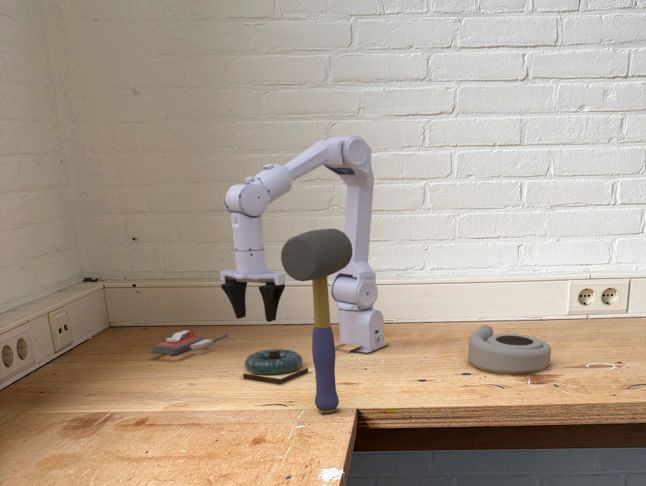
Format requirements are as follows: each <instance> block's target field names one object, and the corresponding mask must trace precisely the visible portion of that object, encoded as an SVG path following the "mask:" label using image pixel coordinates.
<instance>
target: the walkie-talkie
mask: <svg viewBox="0 0 646 486" xmlns="http://www.w3.org/2000/svg"><path fill="white" fill-rule="evenodd" d="M227 337H229V334H228V333H225V334H223V335H220V336H218V337H216V338H214V339H207V338H206V339H205V337H204V336H203V335H195V333H194V331H193V330H180V331H178V332H175V333H173V335H172V337H167V338H166V339H165V341H163V342H161V343H157V344H155V345H152V346H151V350H152V354H154V355H155V354H158V355H163V354H167V355H169V356H170V357H177V356H180V355H182V354H184V353H187V352H189V351H194V350H197V349H203V348H206V347H208V346H210V345H213V344H214V343H215V342H219V341H220V340H222V339H225V338H227Z"/></svg>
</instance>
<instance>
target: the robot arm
mask: <svg viewBox="0 0 646 486" xmlns="http://www.w3.org/2000/svg"><path fill="white" fill-rule="evenodd" d="M322 166H323V167H325V168H326V169H327V170H329V171H331V172H332V173H334V174H335V175H337V176H338V177H339V178H340V179H341V180H342V181H343V183H344V184H345V185H346V199H345V213H344V214H345V215H344V230H343V231H344V232H343V233H345V235H346V236H347V237H348V238H349V240H350V242H351V244H352V250H353V251H352V258H351V260H350V263H349V264H348V265H347V266H346V267H345V268H343V269H341V270H340V271H338V272H336V273H334V274H333V275H334V276H333V279H332V281H331V283H330V286H329V287H330V288H329V291H330V292H329V293H330V296H331V298H332V300H333V301H334V302H335V304H336V307H337V311H338V314H337V315H338V330H339V334H338V335H339V343H341V345H342V344H343V345H346V346H347V345H349V346H358V347H355V348H353V349H350V350H349V352H355V353H364V354H369V353H372V352H373V351H376V350H378V349H380V348H383V347H385V346H387V343H386V342H385V328H384V327H385V325H384V323H385V322H384V316H383V313H382V311H380V310H379V309H375V308H374V304H375V303H376V302H377V299H378V295H379V290H378V289H379V288H378V286H377V285H378V284H377V282H376V280H377V274H376V272H375V271H374V269H373V268H372V267H371V266H370V264H369V252H370V239H371V225H372V212H373V197H374V185H375V177H374V172H373V168H372V148H371V147H370V145H369V144H368V143H367V141H366V140H365V139H364V138H363V137H361V136H360V135H357V134H356V135H351V136H349V135H348V136H331V135H329V136H326V137H323V138H322V139H321V140H316V141H315V142H314V143H313V145H311V146H310V147H308V148H307V149H305V150H304V151H302V152H301V153H299V154H298V155H296V156H295V157H294V158H293V159H291V160H290V161H288V162H287V163H285V164H284V165H281V164H278V163H267V164H265V165H263V170H262V171H260V172H258V173H256V174H255V175H254V176H247V177H245V179H244V180H245V181H244V183H243V184H240V183H239V184H233V185H231V186H230V187H229V188H228V189H227V192H226V194H225V199H223V200H222V202H223V205H224V208H225V210H226V211H227V213H229V216H230V222H231V228H232V238H233V247H234V256H235V268H236V269H224V270H220V271H219V276H220V281H221V282H224V283H222V284H220V285H221V286H220V287H221V289H222V290H223V292H224V293H225V295H226V297H227V298H228V300H229V302H230V305H231V307H232V310H233V312H234V315H235V318H236V320H237V319H238V320H239V319H243V318H246V315H247V305H246V294H247V293H246V291H247V286H248V283H255V284H264V285H260V286H258V290H259V293H260V296H261V298H262V301H263V302H262V303H263V309H264V316H265V320H266V322H267V323H268V322H274V321H276V319H277V313H278V309H279V304H280V301H281V296H282V295H283V293H284V291H285V289H286V273H281V272H274V271H269V270H267V262H266V261H267V260H266V259H267V258H266V251H265V250H266V249H265V239H264V238H265V237H264V226H263V215H264V213H265V212H266V210H267V207H268V206H269V205H270V204H272V203H273V202H275V201H276V200H278V199H279V198H281V197H283V196H284V195H286V194H287V193H289V192H290V191H291V190H292V188H293V182H294V181H296V180H298V179H299V178H301V177H303V176H305V175H307V174H309V173H310V172H312V171H314V170H316V169H318V168H319V167H322Z"/></svg>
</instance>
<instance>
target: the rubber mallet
mask: <svg viewBox="0 0 646 486" xmlns="http://www.w3.org/2000/svg"><path fill="white" fill-rule="evenodd" d="M352 251H353V250H352V244H351V242H350V240H349V238H348V237H347V236H346V235H345V233H344V232H343V231H342V230H340V229H337V228H321V229H314V230H308V231H306V232H302V233H300V234H297V235H294V236H293V237H290V238H289V239H288V240H286V242H285V243H284V244H283V246H282V249H281V252H280V261H281V266H282V267H283V270H284V271H285V274H287V275H288V276H289V278H292V279H293V280H295V281H299V282H307V281H309V282H310V281H311V283H312V301H313V302H312V303H313V321H314V322H313V323H314V326H313V328H312V334H311V335H312V339H311V352H312V353H311V354H312V361H313V366H314V372H315V373H314V374H315V388H316V389H315V390H316V391H315V398H314V405H315V407H316V408H317V409H318V411H319V412H320V413H323V414H330V413H334V412H336V411H337V408H338V406H339V403H340V401H339V396H338V395H339V394H338V392H337V386H336V385H337V384H336V372H335V371H336V369H335V368H336V346H335V345H336V344H335V338H334V332H333V329H332V325H331V314H330V313H331V312H330V301H329V300H330V299H329V298H330V297H329V285H328V277H329V276H331V275H335V273H336V272H338V271H340V270H341V269H343V268H345V267H346V266H347V265H348V264H349V263H350V260H351V258H352Z"/></svg>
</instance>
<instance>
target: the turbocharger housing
mask: <svg viewBox="0 0 646 486" xmlns="http://www.w3.org/2000/svg"><path fill="white" fill-rule="evenodd" d="M551 355H552V347H551V346H550V344H549V343H547V342H545V341H542V340H539V338H535V337H534V336H529V335H527V334H526V335H525V334H518V333H499V334H494V329H493V327H492V326H491V325H488V324H482V325H481V326H480V327H479V328H478V329H477V330H475V331H473V332H472V333H471V334H470V335H469V338H468V349H467V359H468V361H469V363H470V364H471V365H472V366H474V367H475V368H477V369H480V370H483V371H487V372H491V373H495V374H497V373H498V374H507V375H522V374H531V373H536V372H539V371H540V372H541V371H542V370H544V369H546V368H547V367H548V366H549V365H550V363H551V357H552V356H551Z"/></svg>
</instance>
